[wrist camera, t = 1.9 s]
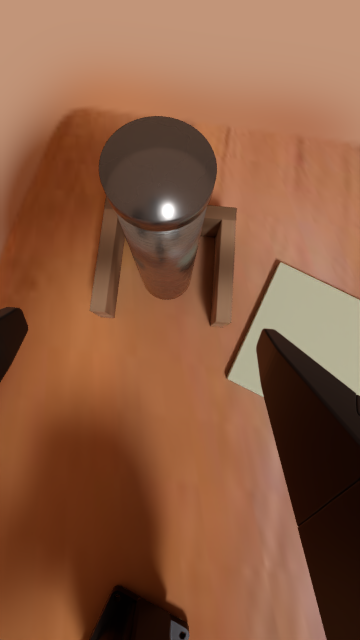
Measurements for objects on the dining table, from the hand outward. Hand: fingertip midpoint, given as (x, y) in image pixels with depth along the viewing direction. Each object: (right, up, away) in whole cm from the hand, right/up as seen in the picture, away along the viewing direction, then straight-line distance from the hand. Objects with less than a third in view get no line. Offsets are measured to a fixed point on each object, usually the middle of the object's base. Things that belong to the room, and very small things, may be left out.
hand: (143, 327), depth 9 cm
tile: (+14, -2, +13) cm, 19 cm away
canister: (0, +4, +13) cm, 14 cm away
